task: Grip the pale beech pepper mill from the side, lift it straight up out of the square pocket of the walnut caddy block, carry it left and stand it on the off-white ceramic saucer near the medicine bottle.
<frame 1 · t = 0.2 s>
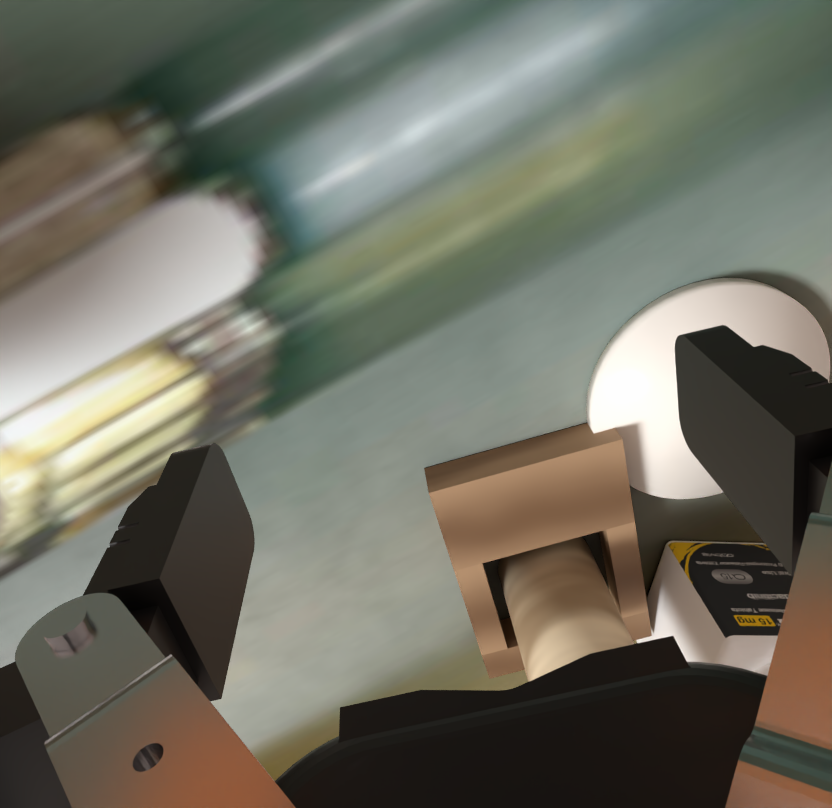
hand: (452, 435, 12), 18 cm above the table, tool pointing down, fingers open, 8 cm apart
saucer: (701, 390, 33), on the table
medicine bottle: (706, 586, 40), on the table
pepper mill: (588, 683, 31), in the caddy
caddy: (544, 565, 38), on the table
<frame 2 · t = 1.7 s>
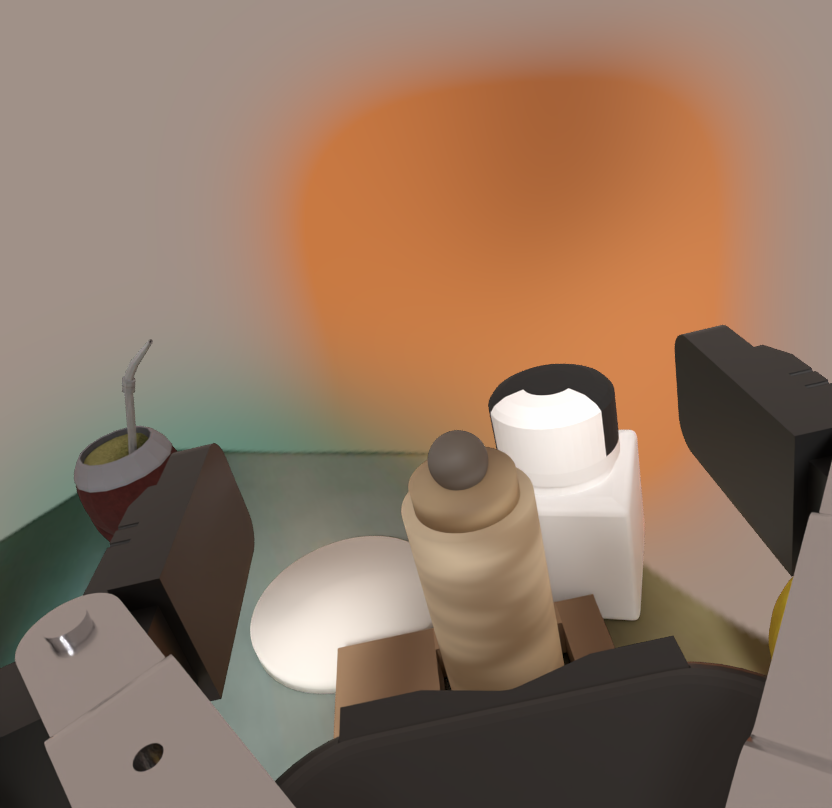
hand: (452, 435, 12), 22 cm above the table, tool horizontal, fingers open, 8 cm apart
mate gourd: (168, 537, 52), on the table
saucer: (349, 612, 40), on the table
medicine bottle: (576, 573, 40), on the table
pepper mill: (488, 594, 29), in the caddy
caddy: (517, 718, 32), on the table
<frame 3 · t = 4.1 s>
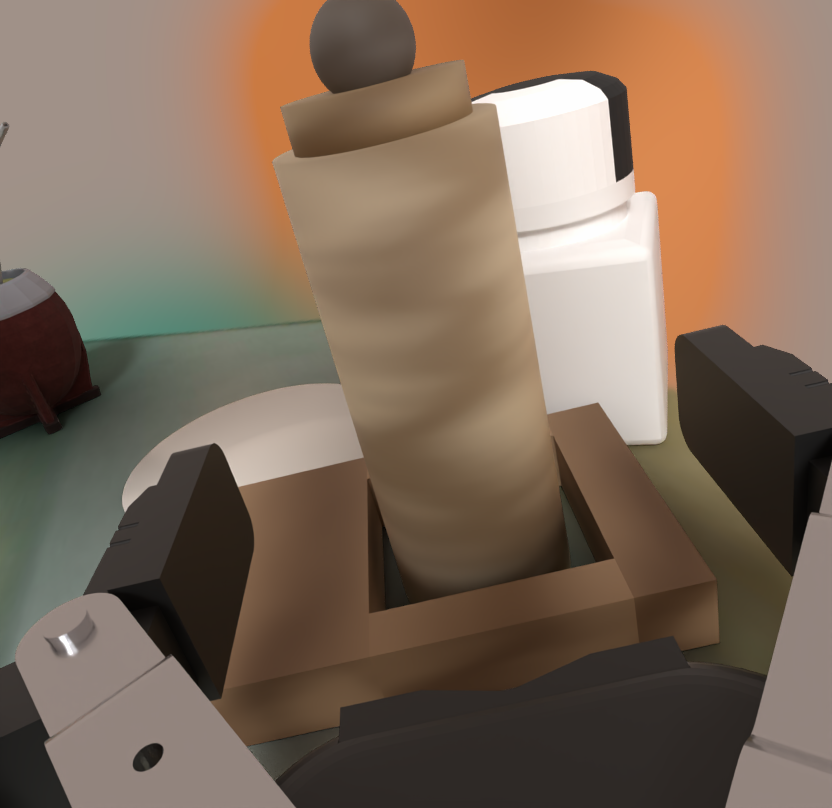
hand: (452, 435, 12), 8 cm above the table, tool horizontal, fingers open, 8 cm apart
mate gourd: (57, 416, 41), on the table
saucer: (264, 467, 29), on the table
medicine bottle: (574, 406, 29), on the table
pepper mill: (430, 333, 18), in the caddy
caddy: (485, 566, 21), on the table
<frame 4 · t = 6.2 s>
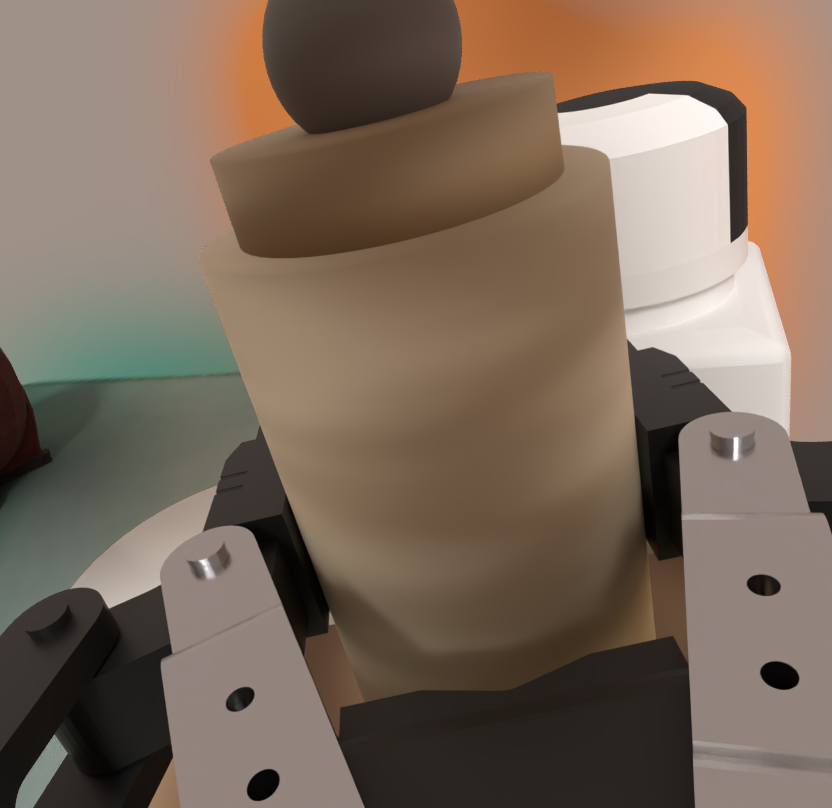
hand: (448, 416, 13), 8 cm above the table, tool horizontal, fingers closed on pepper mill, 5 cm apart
saucer: (235, 594, 23), on the table
medicine bottle: (642, 519, 22), on the table
pepper mill: (472, 515, 11), in the caddy, touching gripper
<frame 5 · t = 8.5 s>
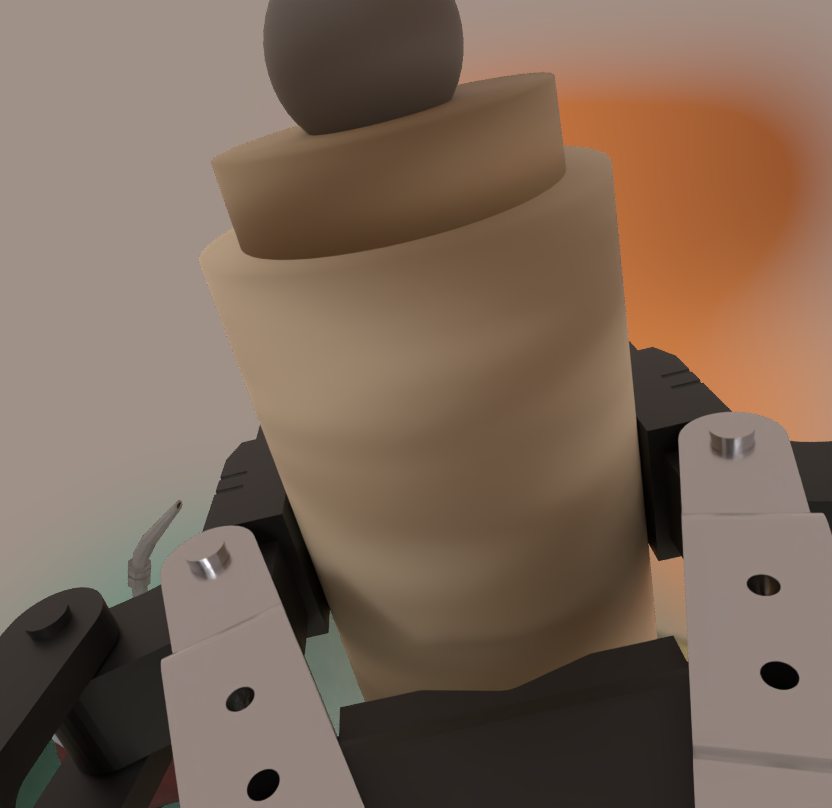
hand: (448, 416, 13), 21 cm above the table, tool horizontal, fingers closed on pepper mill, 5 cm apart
mate gourd: (201, 779, 32), on the table
pepper mill: (473, 516, 11), point 20 cm above the table, touching gripper
when the fingers open (10 cm above the table, at t = 11.2 s): pepper mill stays where it is, resting on saucer.
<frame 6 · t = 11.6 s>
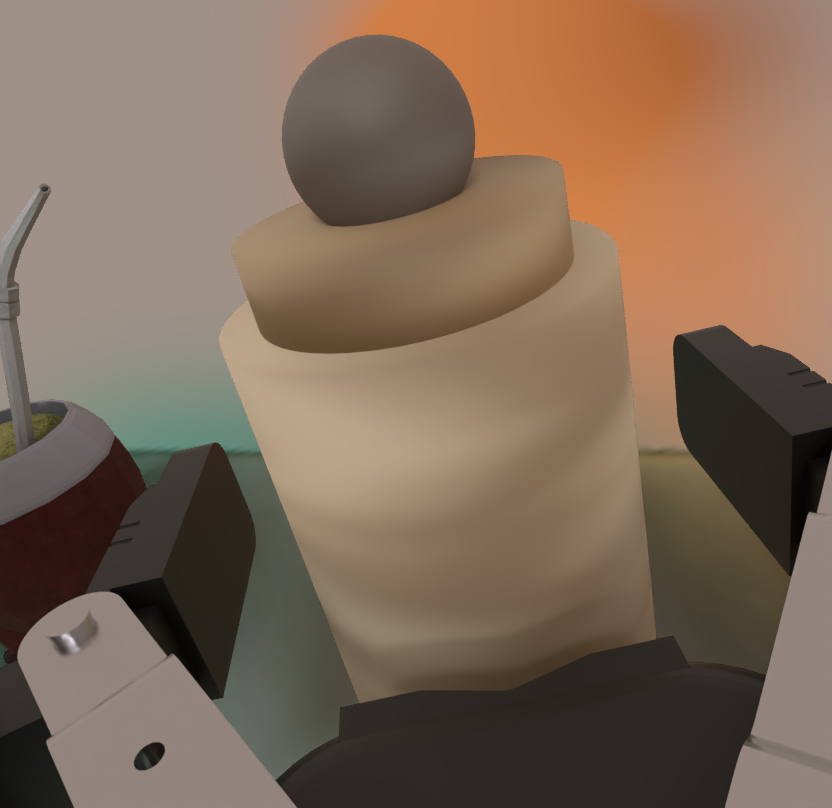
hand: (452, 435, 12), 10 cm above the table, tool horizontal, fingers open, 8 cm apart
mate gourd: (113, 618, 27), on the table
pepper mill: (483, 571, 11), on the saucer, point 9 cm above the table
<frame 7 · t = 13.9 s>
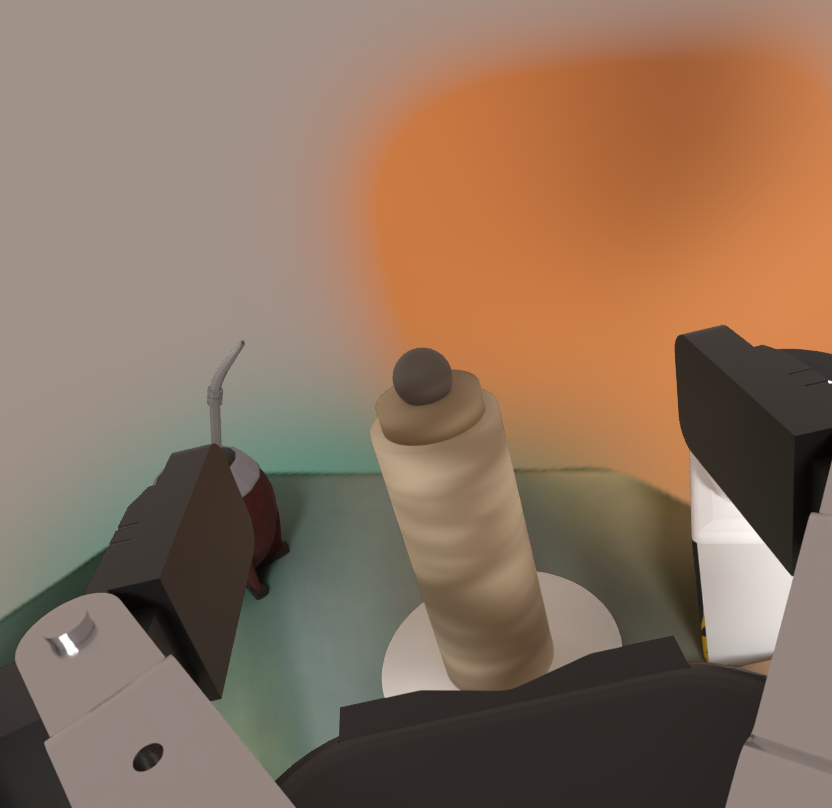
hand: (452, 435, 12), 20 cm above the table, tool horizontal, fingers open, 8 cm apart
mate gourd: (253, 574, 44), on the table
saucer: (502, 667, 33), on the table
medicine bottle: (788, 614, 32), on the table
pepper mill: (461, 519, 29), on the saucer, point 9 cm above the table
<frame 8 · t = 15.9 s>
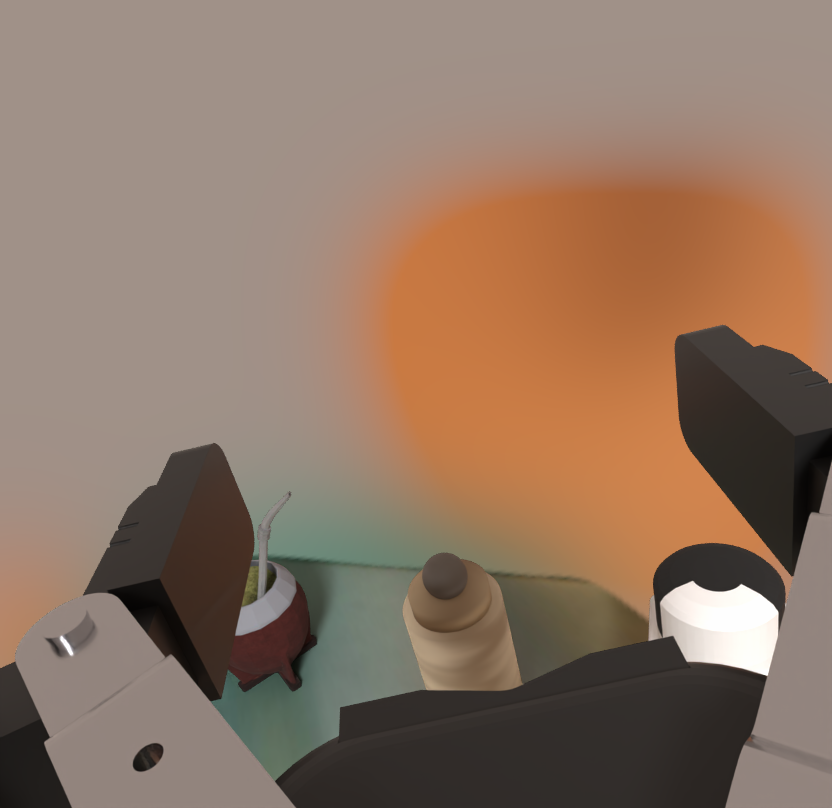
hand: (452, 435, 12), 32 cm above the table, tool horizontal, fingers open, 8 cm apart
mate gourd: (286, 664, 53), on the table
medicine bottle: (723, 735, 40), on the table
pepper mill: (470, 669, 37), on the saucer, point 9 cm above the table
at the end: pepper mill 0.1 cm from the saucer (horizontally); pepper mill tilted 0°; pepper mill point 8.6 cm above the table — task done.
